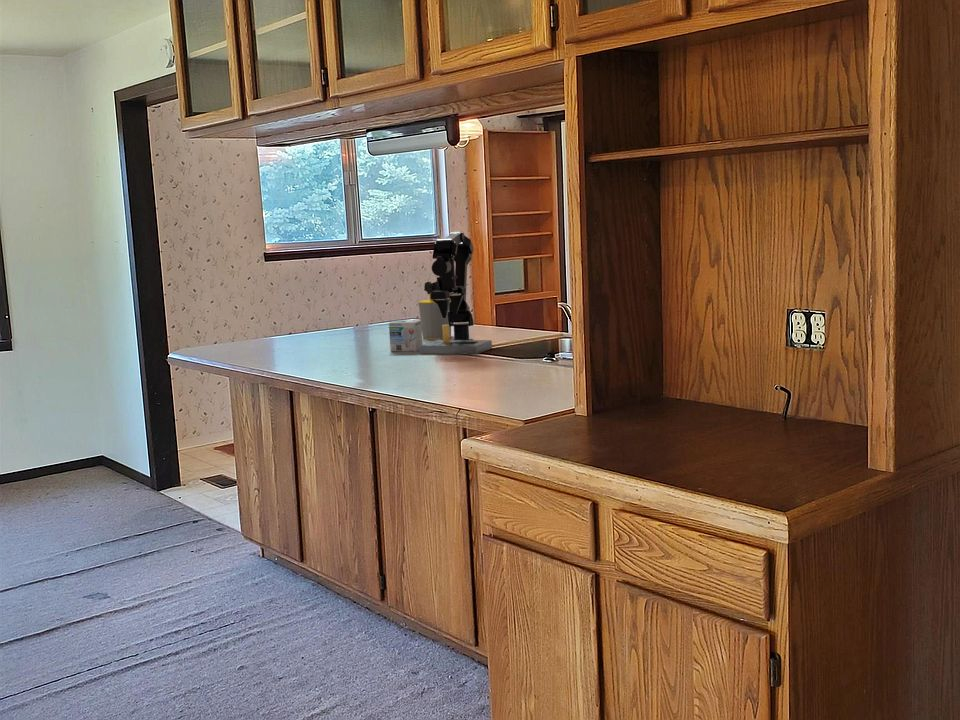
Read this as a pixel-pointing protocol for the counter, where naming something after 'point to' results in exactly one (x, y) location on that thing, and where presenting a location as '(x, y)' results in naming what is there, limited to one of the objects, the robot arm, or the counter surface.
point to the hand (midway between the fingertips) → (449, 316)
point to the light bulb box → (405, 335)
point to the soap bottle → (432, 320)
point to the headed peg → (446, 334)
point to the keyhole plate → (456, 347)
